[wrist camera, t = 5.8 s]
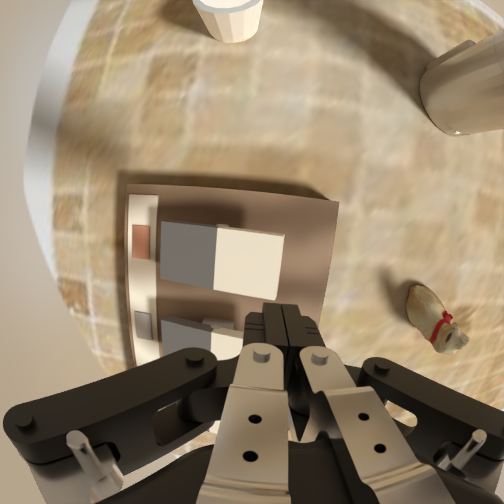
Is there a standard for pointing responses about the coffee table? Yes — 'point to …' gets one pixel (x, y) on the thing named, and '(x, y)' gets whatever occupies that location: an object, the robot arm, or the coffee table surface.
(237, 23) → the white tapered cup
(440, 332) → the chocolate bunny
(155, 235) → the switch console
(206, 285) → the rocker
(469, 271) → the coffee table surface
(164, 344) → the rocker mid
